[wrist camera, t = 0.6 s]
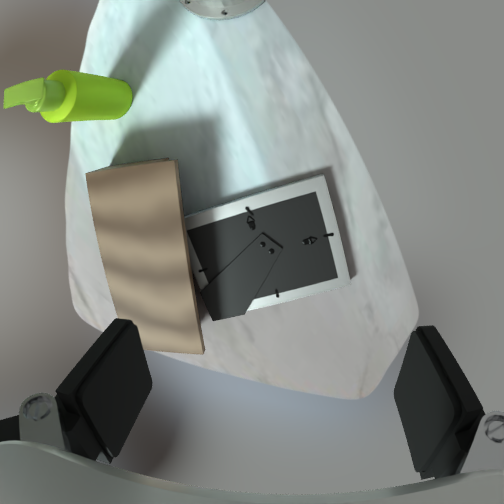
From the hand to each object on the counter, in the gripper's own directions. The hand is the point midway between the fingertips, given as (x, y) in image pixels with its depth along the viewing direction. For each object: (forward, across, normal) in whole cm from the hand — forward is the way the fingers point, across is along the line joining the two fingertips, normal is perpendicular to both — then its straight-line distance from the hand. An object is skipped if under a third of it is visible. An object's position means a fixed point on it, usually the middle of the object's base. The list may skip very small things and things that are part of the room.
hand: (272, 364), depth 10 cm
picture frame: (+33, +3, +8) cm, 34 cm away
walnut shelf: (+32, +18, +8) cm, 38 cm away
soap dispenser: (+32, +22, -15) cm, 41 cm away
